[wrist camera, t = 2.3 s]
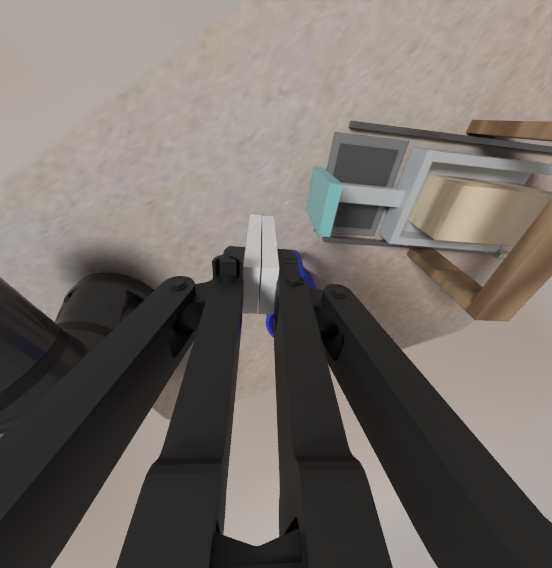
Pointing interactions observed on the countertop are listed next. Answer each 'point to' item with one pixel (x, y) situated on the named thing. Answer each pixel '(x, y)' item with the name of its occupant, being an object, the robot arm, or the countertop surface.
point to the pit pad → (363, 176)
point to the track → (440, 136)
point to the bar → (477, 210)
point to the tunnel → (519, 262)
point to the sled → (413, 192)
